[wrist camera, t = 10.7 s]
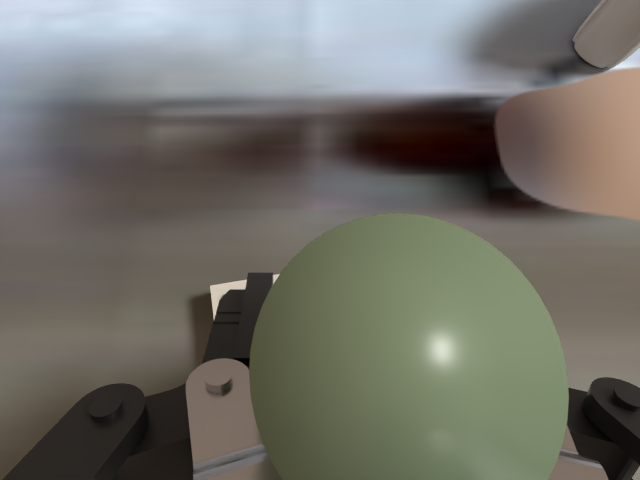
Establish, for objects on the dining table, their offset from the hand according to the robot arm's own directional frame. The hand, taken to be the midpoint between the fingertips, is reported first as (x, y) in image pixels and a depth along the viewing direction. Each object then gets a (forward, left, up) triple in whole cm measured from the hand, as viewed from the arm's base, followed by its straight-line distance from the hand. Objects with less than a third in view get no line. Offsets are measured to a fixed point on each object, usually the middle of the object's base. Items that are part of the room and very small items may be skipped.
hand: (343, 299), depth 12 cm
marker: (0, +2, -6) cm, 6 cm away
